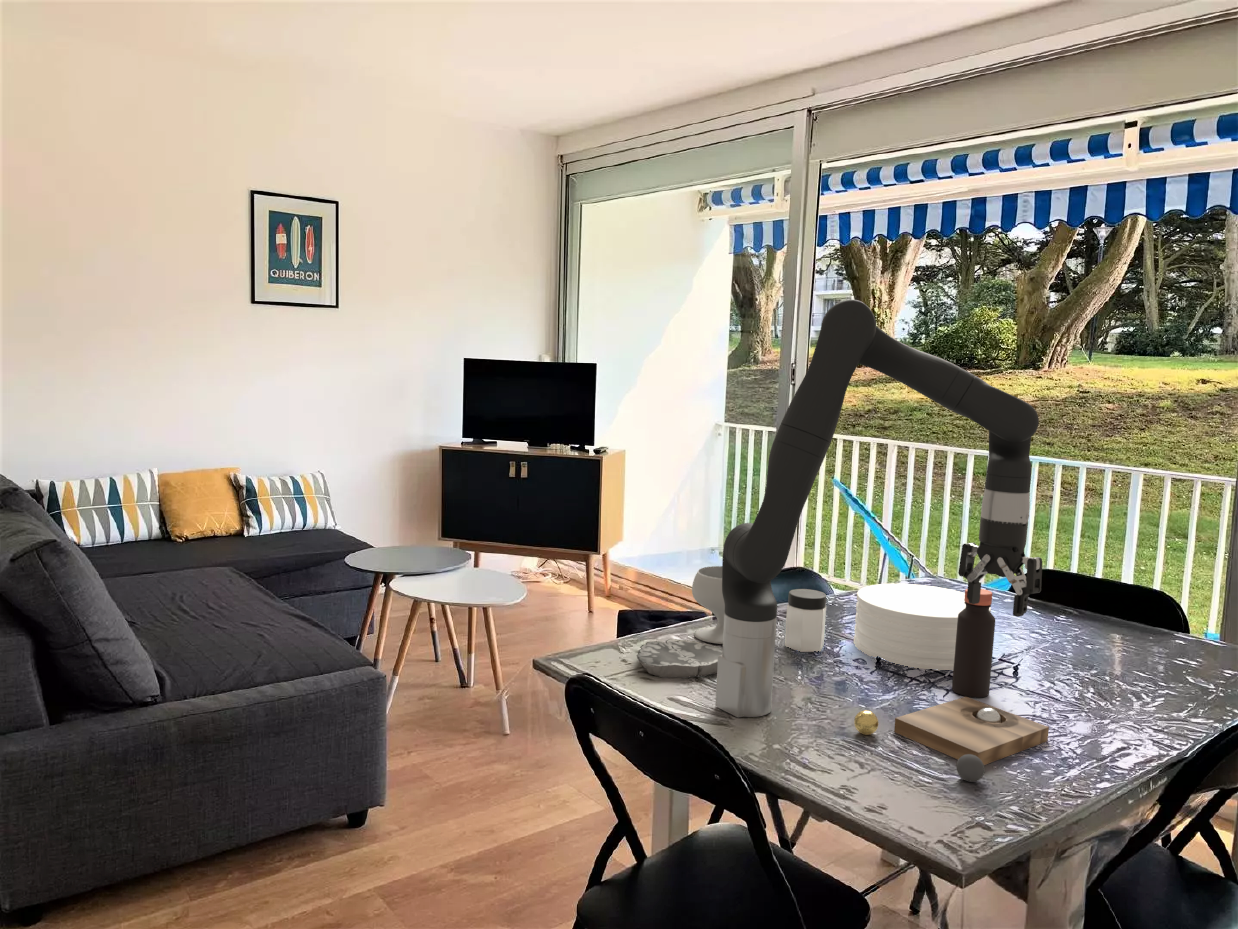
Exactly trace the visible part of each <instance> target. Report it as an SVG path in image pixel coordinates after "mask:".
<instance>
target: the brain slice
mask: <svg viewBox="0 0 1238 929" xmlns="http://www.w3.org/2000/svg"><path fill="white" fill-rule="evenodd" d="M639 648H640V649H638V652H637V654H636V658H637V660H638V662H639V663H640V664H641V666H642V667H643V668H645V669H646V671H647V672H648V674H649V675H654V677H659V678H685V679H686V678H696V677H698V678H699V677H700V678H702V677H707V676H709V675H713V674H717V665H718V656H719V655H722V650H723V647H721V646H718V645H712V644H710V643H706V642H705V643H704V642H700V641H695V640H688V639H677V638H675V639H674V638H672V639H671V638H669V639H666V640H665V641H661V640H658V641H657V640H656V641H654V640H652V641H647V642H646V643H645V644H641V646H640V647H639Z"/></svg>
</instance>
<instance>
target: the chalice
mask: <svg viewBox="0 0 1238 929" xmlns="http://www.w3.org/2000/svg"><path fill="white" fill-rule="evenodd" d="M691 594H692V597H693V599H694V600H695V602H696V603H698V605H700V606H702V607H703V608H705V609H706V610H708V611H709V612H711V613H712V614H713V615H714V616H715V618H716V619H717V620H716V621H717V623H716V626H707V627H702V628H698V629H696V630H695V631H694V633H693V636H694V637H695V638H696V639H698V640H700V641H703V642H705V643H709V644H711V643H712V644H717V645H718V644H719V645H723V631H724V613H725V603H724V598H723V594H722V565H718V566H716V565H715V566H705V567H701V568H699V569H698V570H697V572H696V573H695V575H694V578H693V581H692V586H691Z"/></svg>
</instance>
